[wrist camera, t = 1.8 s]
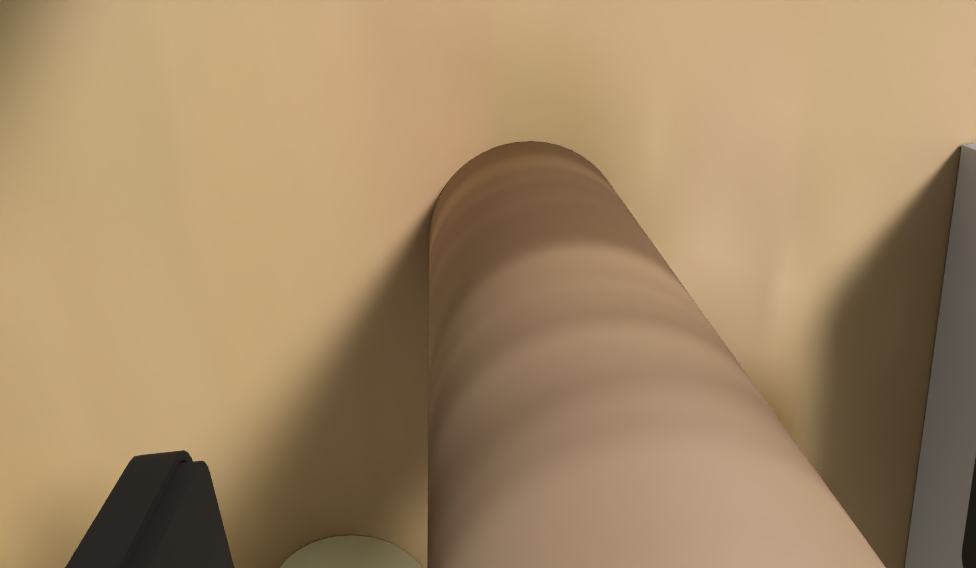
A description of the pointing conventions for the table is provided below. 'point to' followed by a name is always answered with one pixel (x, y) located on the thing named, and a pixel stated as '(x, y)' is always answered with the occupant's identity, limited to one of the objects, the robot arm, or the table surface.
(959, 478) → the socket block
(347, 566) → the sage peg
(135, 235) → the table surface
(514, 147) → the walnut peg
